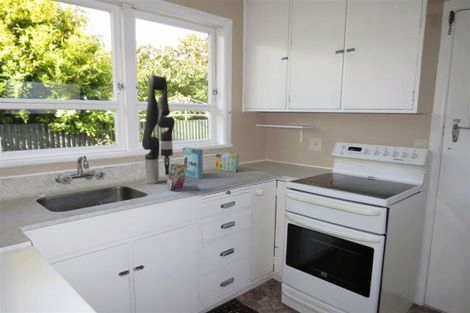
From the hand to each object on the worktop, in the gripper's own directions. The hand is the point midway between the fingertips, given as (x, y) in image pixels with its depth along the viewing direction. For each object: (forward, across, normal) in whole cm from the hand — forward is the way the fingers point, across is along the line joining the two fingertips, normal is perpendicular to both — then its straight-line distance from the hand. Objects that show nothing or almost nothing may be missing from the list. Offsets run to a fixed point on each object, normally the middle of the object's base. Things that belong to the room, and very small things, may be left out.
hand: (167, 174), depth 197 cm
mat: (+10, -3, +12) cm, 16 cm away
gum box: (+10, -40, +21) cm, 47 cm away
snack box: (+9, -62, +54) cm, 82 cm away
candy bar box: (+9, -3, +5) cm, 11 cm away
